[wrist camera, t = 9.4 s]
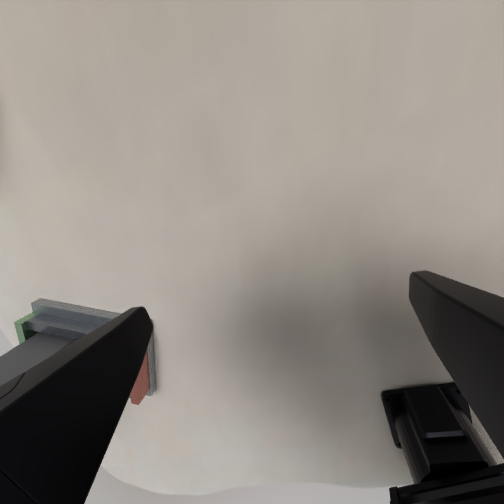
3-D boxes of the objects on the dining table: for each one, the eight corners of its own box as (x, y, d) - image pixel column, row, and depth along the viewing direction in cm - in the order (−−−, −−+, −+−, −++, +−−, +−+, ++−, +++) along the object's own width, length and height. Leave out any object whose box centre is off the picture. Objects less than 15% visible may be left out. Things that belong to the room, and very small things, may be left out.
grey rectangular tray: (151, 319, 26) (133, 338, 23) (155, 388, 29) (140, 412, 26) (40, 298, 28) (10, 313, 25) (54, 365, 31) (30, 385, 28)
